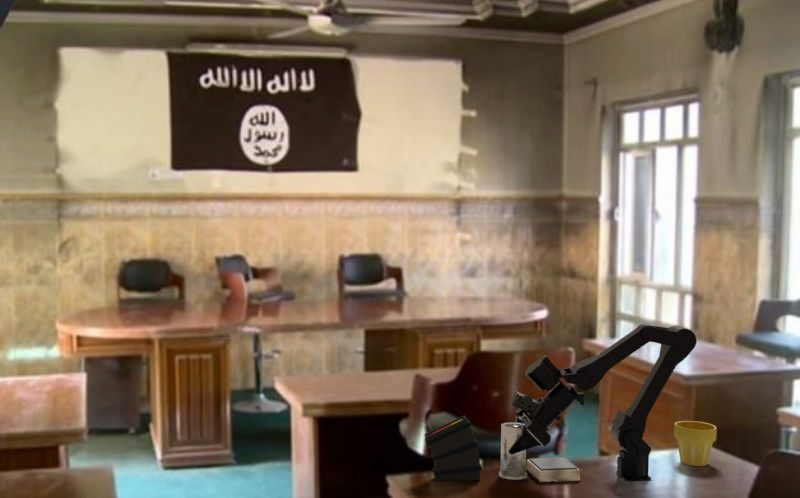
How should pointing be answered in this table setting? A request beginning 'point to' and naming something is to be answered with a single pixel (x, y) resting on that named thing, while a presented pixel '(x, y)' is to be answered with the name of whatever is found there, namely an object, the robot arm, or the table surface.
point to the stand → (553, 469)
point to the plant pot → (694, 441)
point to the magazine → (454, 451)
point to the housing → (515, 463)
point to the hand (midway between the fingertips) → (507, 449)
